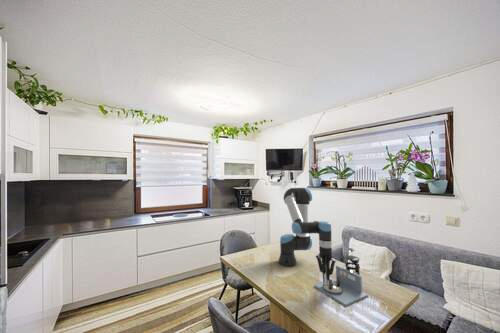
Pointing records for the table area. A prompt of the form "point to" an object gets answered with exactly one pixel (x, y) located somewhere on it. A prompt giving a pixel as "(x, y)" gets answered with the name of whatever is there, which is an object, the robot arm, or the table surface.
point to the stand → (346, 287)
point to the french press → (353, 263)
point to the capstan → (333, 286)
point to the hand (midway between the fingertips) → (326, 284)
